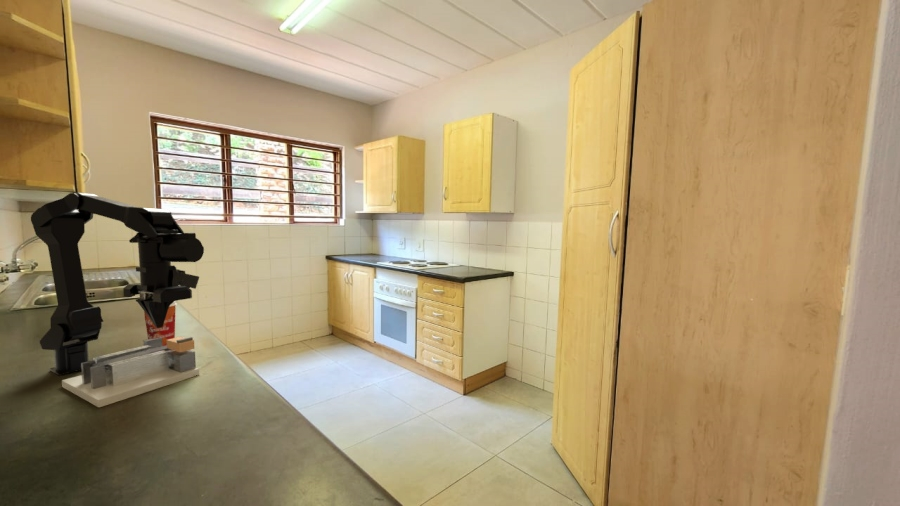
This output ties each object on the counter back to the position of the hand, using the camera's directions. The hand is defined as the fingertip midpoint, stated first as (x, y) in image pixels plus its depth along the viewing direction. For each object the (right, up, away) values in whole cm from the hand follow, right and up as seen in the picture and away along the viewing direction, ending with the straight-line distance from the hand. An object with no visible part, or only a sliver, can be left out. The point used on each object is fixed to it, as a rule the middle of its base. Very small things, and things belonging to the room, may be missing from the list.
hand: (159, 327), depth 85 cm
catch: (+5, -5, 0) cm, 7 cm away
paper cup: (-14, -10, +18) cm, 25 cm away
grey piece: (-3, -10, -2) cm, 11 cm away
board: (-4, -12, -3) cm, 12 cm away
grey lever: (-3, -7, -2) cm, 8 cm away
